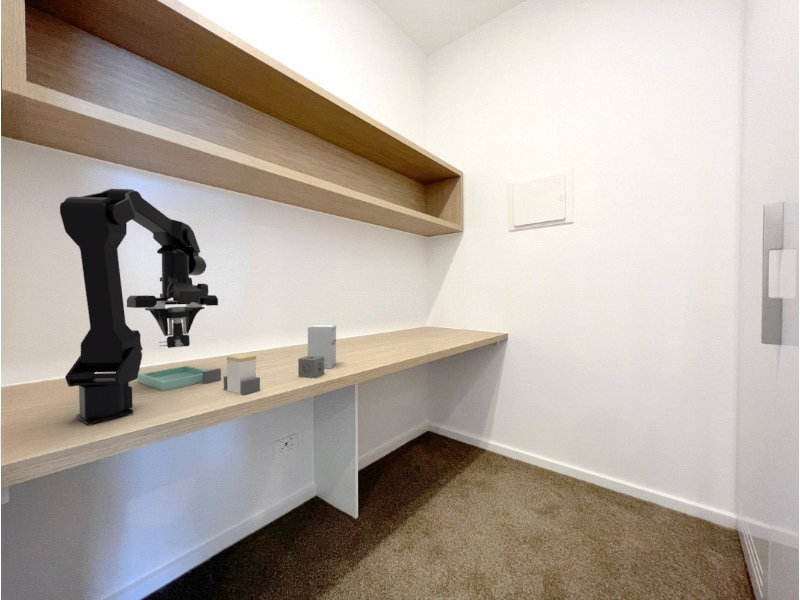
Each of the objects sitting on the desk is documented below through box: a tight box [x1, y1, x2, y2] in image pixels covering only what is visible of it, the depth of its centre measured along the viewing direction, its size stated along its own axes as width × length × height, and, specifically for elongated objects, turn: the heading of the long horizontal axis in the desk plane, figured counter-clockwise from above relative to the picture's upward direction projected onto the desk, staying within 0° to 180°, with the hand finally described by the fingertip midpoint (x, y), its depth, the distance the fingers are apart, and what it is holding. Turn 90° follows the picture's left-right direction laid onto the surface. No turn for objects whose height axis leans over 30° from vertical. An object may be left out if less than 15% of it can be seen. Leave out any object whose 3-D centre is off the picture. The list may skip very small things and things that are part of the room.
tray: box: [137, 365, 207, 392], centre depth 84 cm, size 12×14×2 cm
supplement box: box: [307, 324, 337, 370], centre depth 102 cm, size 7×7×13 cm
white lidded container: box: [226, 353, 257, 395], centre depth 77 cm, size 4×5×8 cm
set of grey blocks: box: [202, 367, 261, 396], centre depth 79 cm, size 4×17×3 cm, turn 58°
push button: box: [158, 306, 191, 349], centre depth 83 cm, size 7×5×10 cm
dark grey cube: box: [297, 354, 325, 379], centre depth 90 cm, size 5×5×5 cm
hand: (176, 334), depth 84 cm, fingers closed on push button, 4 cm apart
